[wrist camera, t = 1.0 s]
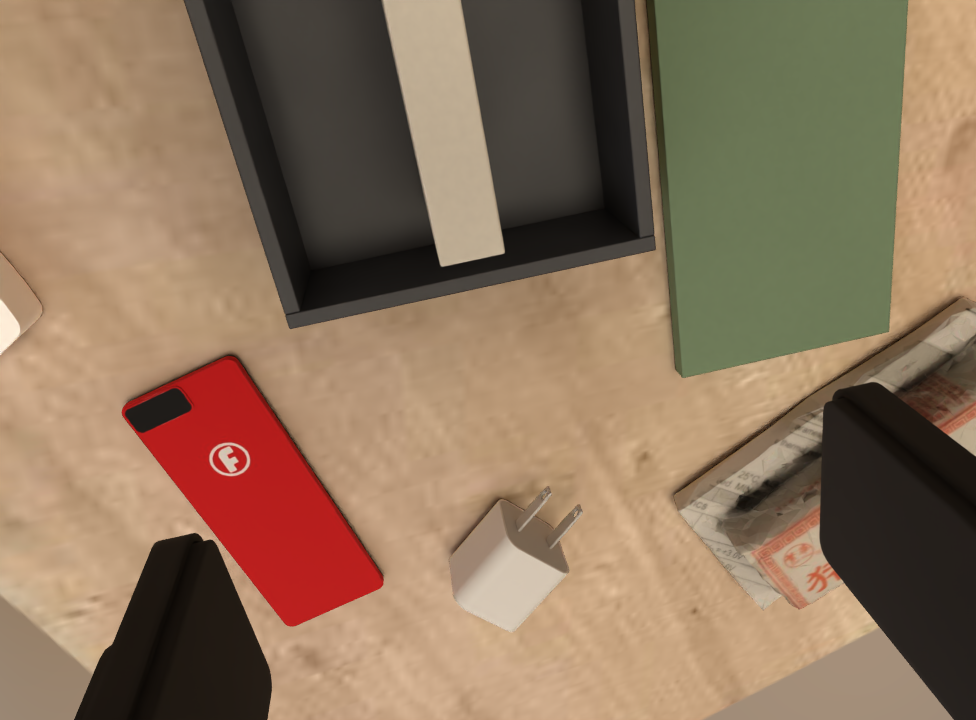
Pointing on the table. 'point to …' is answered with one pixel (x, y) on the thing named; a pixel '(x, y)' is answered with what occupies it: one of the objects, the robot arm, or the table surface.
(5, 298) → the joystick
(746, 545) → the packaged product
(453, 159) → the board
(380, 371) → the table surface
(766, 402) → the table surface
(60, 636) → the table surface
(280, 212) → the bin
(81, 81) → the table surface
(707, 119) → the mat
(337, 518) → the electronic device
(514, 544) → the usb wall charger
